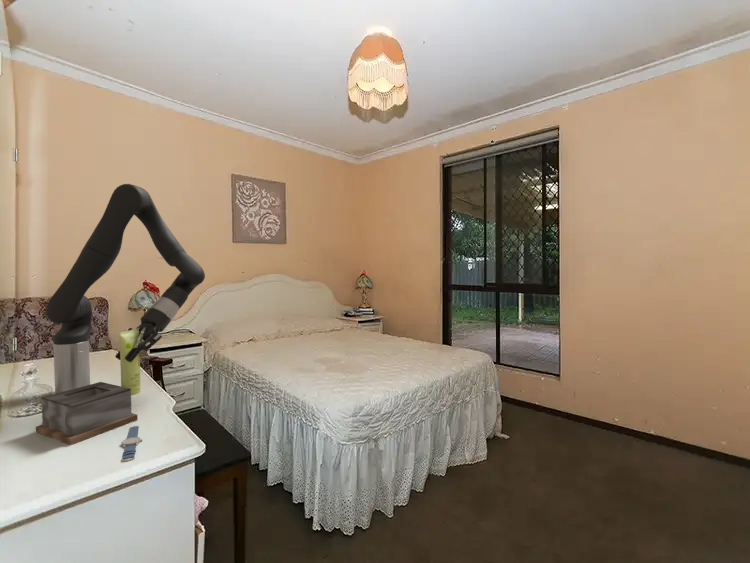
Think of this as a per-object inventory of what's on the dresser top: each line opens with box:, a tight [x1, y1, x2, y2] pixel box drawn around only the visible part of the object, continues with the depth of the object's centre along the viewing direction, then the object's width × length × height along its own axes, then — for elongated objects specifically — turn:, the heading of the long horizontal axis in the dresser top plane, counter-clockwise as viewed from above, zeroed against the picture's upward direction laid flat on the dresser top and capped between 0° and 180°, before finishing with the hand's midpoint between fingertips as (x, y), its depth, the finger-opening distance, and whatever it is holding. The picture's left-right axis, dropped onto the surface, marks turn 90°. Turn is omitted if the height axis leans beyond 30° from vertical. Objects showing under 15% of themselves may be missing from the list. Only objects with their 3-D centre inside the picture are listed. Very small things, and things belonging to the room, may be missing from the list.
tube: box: [118, 327, 142, 397], centre depth 112 cm, size 6×5×20 cm
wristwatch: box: [121, 425, 143, 463], centre depth 90 cm, size 4×20×1 cm, turn 29°
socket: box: [35, 381, 139, 446], centre depth 99 cm, size 16×16×9 cm
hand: (123, 359), depth 110 cm, fingers closed on tube, 4 cm apart
